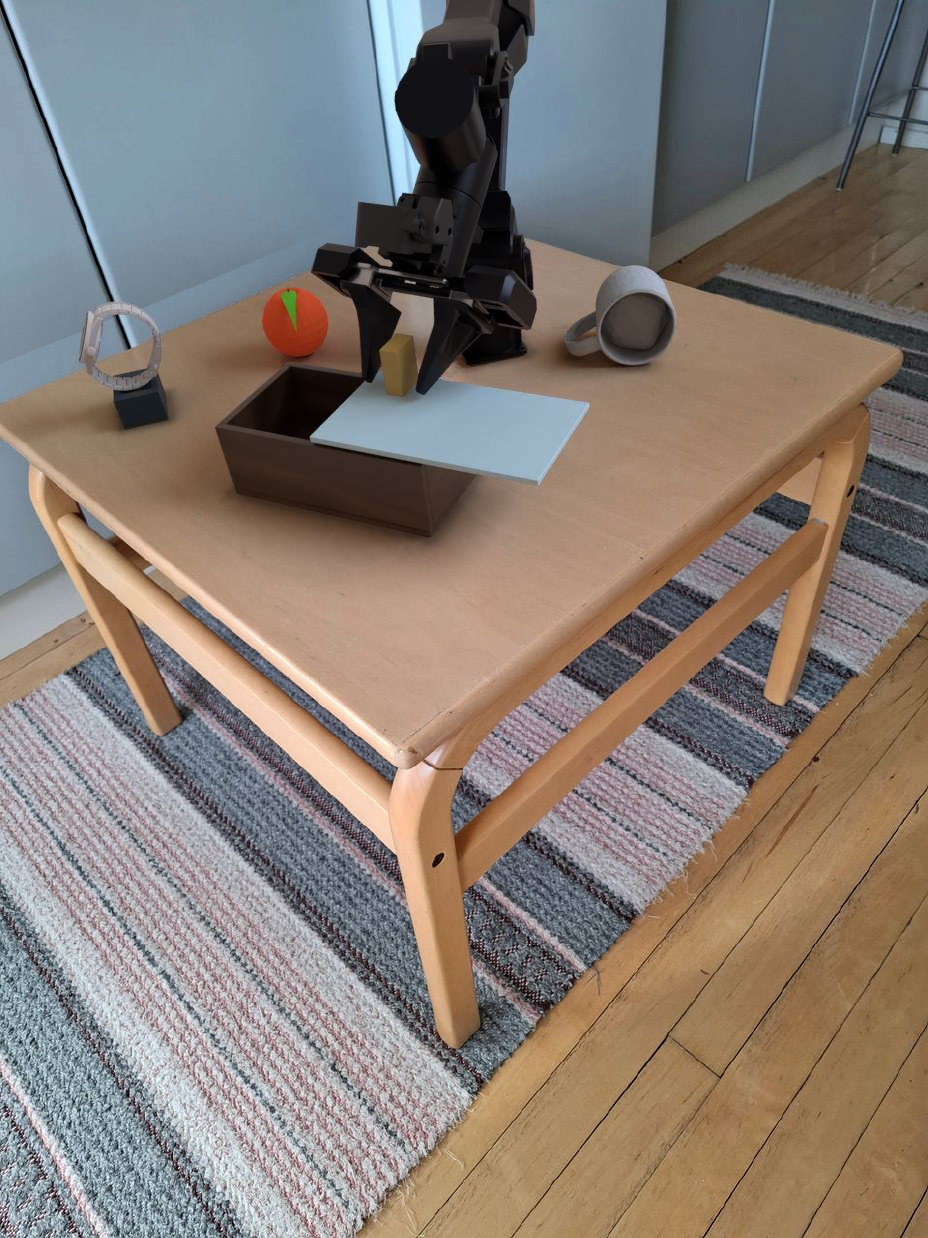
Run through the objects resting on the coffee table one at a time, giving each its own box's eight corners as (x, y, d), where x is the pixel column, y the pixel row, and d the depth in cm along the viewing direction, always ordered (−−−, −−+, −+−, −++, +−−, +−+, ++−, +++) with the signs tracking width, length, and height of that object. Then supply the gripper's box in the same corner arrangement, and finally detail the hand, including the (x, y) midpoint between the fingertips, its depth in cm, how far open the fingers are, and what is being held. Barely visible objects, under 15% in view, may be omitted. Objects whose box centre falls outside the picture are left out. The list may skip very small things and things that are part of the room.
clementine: (339, 366, 95) (325, 301, 90) (273, 378, 94) (256, 313, 89) (330, 332, 101) (317, 269, 96) (268, 344, 100) (252, 281, 95)
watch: (104, 407, 93) (61, 305, 86) (182, 389, 94) (147, 287, 87) (104, 434, 89) (60, 330, 82) (186, 415, 90) (149, 311, 83)
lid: (377, 374, 79) (368, 325, 76) (589, 408, 72) (589, 355, 68) (310, 442, 72) (298, 391, 69) (538, 486, 65) (535, 432, 62)
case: (304, 425, 87) (288, 361, 82) (488, 460, 80) (482, 391, 75) (236, 493, 80) (214, 426, 75) (430, 537, 73) (420, 467, 68)
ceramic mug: (664, 324, 95) (667, 251, 89) (675, 363, 89) (679, 287, 84) (562, 333, 96) (560, 262, 90) (566, 372, 90) (564, 298, 85)
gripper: (299, 137, 70) (244, 335, 71) (512, 157, 62) (447, 378, 63) (372, 206, 80) (323, 378, 81) (563, 230, 72) (506, 419, 73)
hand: (392, 387), depth 74 cm, fingers open, 5 cm apart
